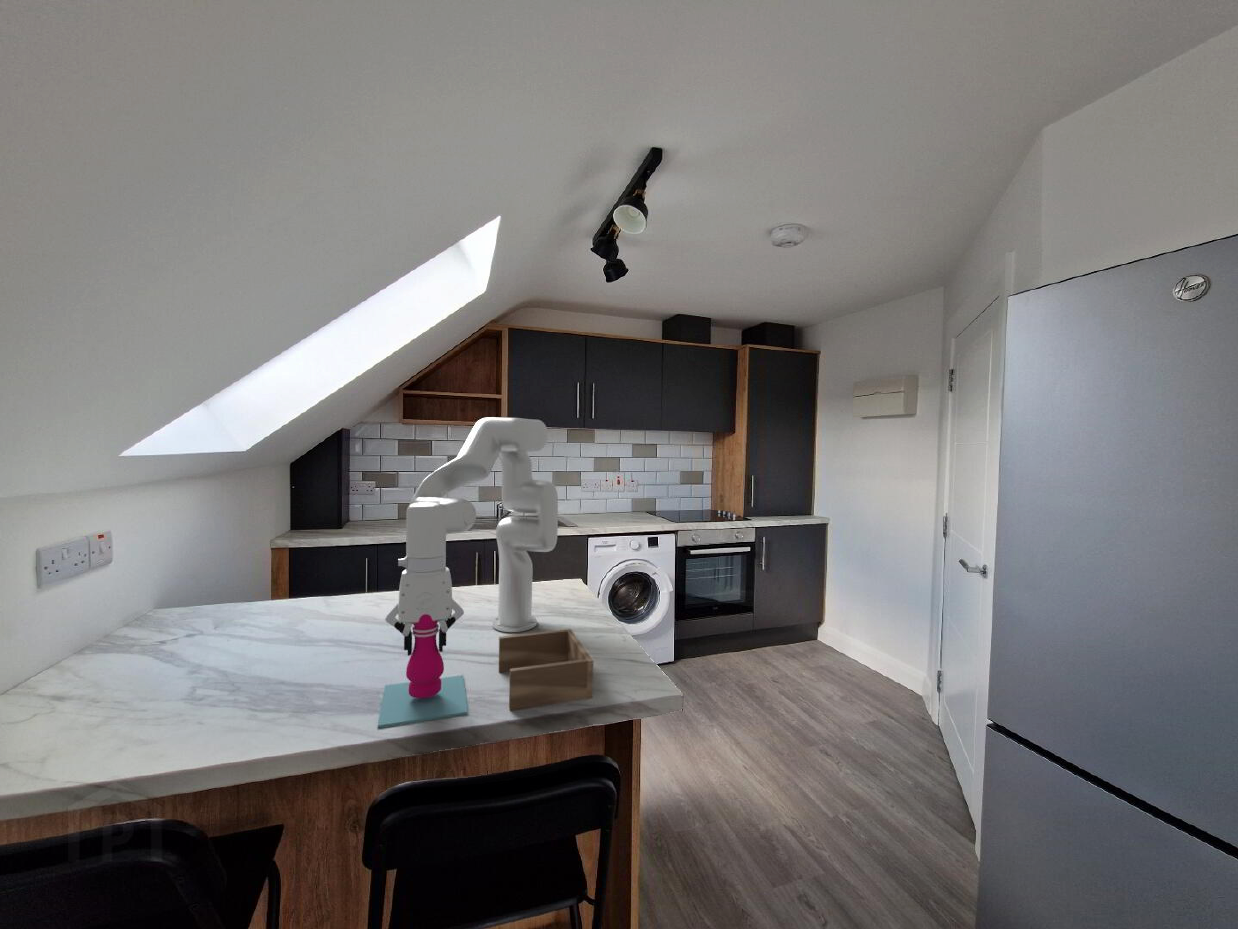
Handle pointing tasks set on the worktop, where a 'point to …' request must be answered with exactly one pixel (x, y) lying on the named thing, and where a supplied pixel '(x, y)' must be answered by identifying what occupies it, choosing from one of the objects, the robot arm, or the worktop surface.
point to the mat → (422, 703)
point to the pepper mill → (425, 660)
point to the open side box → (545, 668)
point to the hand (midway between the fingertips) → (425, 650)
